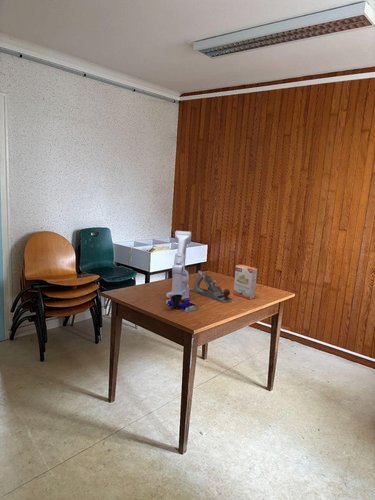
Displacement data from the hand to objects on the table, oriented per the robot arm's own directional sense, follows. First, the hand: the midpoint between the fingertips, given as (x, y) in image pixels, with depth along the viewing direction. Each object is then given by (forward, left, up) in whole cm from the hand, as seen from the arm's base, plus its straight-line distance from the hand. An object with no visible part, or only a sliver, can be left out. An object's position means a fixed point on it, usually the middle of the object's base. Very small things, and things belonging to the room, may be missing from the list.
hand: (175, 306), depth 217 cm
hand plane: (-38, -5, -2) cm, 38 cm away
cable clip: (-3, 0, -1) cm, 4 cm away
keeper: (-5, 0, -1) cm, 5 cm away
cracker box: (-56, +9, -1) cm, 57 cm away
